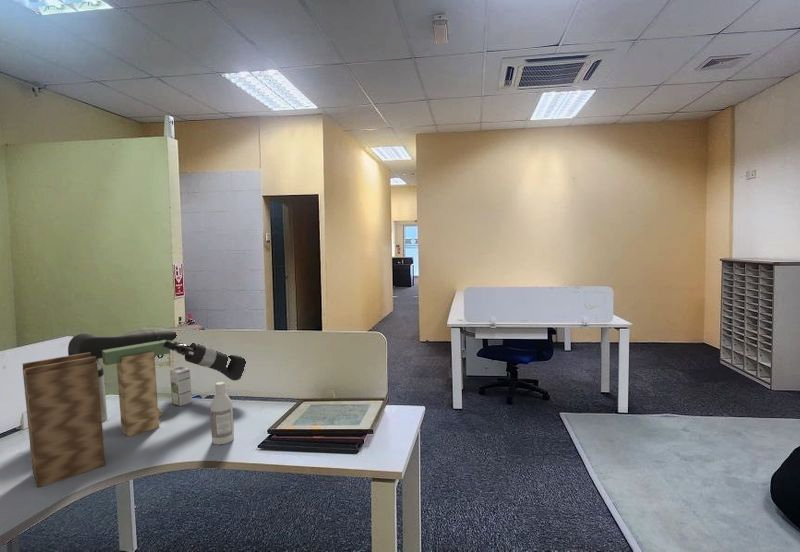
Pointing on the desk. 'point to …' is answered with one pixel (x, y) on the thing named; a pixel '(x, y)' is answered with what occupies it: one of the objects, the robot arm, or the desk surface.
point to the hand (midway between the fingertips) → (160, 341)
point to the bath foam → (221, 416)
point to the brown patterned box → (63, 417)
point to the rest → (138, 393)
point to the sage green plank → (134, 351)
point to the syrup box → (180, 386)
